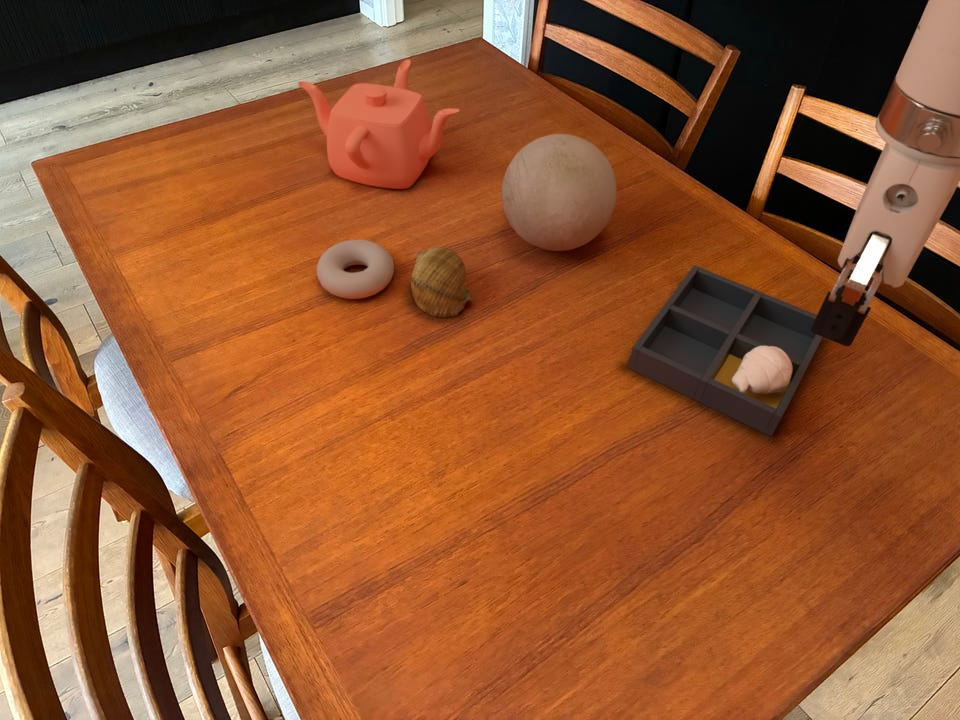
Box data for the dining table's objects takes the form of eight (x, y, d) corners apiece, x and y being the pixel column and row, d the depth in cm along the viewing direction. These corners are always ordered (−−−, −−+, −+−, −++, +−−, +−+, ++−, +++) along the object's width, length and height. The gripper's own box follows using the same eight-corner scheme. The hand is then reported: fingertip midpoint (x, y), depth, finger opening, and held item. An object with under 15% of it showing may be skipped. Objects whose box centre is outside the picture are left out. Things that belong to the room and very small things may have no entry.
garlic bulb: (713, 384, 83) (726, 352, 79) (751, 364, 85) (765, 332, 81) (748, 417, 80) (763, 386, 76) (787, 395, 82) (803, 363, 78)
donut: (354, 245, 100) (302, 283, 94) (351, 224, 98) (297, 262, 92) (410, 273, 96) (359, 315, 91) (409, 253, 94) (356, 295, 88)
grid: (820, 341, 89) (831, 320, 86) (771, 437, 79) (781, 417, 76) (687, 285, 95) (694, 264, 92) (627, 367, 85) (632, 347, 83)
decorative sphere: (536, 287, 94) (544, 191, 83) (481, 224, 103) (482, 129, 92) (629, 253, 99) (649, 157, 88) (569, 195, 108) (581, 101, 97)
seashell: (464, 328, 95) (497, 277, 93) (440, 331, 89) (475, 276, 86) (410, 286, 98) (440, 236, 95) (383, 285, 91) (415, 231, 89)
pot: (418, 125, 121) (414, 51, 111) (461, 180, 110) (460, 104, 101) (310, 150, 115) (296, 75, 106) (344, 211, 105) (331, 133, 96)
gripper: (979, 196, 42) (864, 387, 55) (1025, 81, 52) (919, 266, 65) (848, 156, 45) (768, 346, 58) (915, 54, 55) (834, 235, 67)
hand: (847, 303), depth 61 cm, fingers open, 9 cm apart
